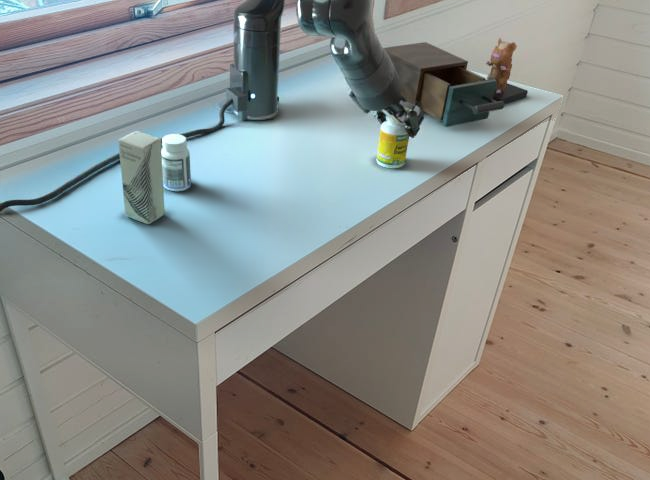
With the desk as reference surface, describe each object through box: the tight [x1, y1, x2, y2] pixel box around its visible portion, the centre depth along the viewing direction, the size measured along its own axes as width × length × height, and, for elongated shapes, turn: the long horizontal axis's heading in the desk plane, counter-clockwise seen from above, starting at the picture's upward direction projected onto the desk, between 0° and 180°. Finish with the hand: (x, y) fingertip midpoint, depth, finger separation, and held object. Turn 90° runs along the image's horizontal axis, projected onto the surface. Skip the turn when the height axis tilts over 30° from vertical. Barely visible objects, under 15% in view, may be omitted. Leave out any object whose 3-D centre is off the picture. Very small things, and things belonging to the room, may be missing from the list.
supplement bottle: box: [376, 115, 410, 169], centre depth 124 cm, size 5×5×10 cm
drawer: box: [418, 66, 505, 128], centre depth 142 cm, size 19×11×8 cm, turn 28°
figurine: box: [485, 37, 529, 106], centre depth 153 cm, size 10×10×12 cm
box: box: [118, 130, 166, 225], centre depth 105 cm, size 5×4×13 cm
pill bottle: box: [161, 133, 192, 192], centre depth 115 cm, size 5×5×8 cm
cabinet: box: [383, 41, 469, 114], centre depth 150 cm, size 15×13×10 cm
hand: (400, 127), depth 125 cm, fingers closed on supplement bottle, 5 cm apart
